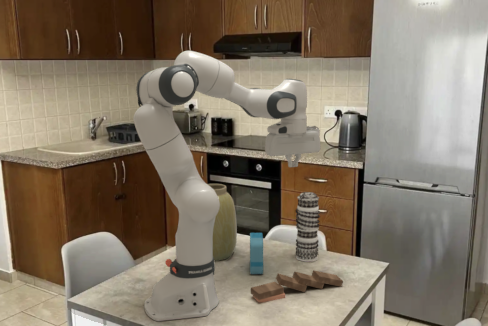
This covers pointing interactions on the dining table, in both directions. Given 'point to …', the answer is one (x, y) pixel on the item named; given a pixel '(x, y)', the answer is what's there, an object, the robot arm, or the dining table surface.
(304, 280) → the domino
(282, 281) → the domino
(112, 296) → the dining table surface
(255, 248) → the data package
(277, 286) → the domino
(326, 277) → the domino
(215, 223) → the vase
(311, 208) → the decorative candle
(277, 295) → the domino
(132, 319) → the dining table surface
